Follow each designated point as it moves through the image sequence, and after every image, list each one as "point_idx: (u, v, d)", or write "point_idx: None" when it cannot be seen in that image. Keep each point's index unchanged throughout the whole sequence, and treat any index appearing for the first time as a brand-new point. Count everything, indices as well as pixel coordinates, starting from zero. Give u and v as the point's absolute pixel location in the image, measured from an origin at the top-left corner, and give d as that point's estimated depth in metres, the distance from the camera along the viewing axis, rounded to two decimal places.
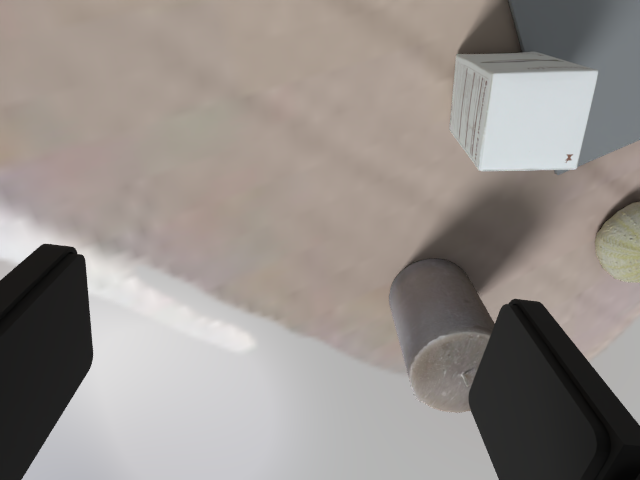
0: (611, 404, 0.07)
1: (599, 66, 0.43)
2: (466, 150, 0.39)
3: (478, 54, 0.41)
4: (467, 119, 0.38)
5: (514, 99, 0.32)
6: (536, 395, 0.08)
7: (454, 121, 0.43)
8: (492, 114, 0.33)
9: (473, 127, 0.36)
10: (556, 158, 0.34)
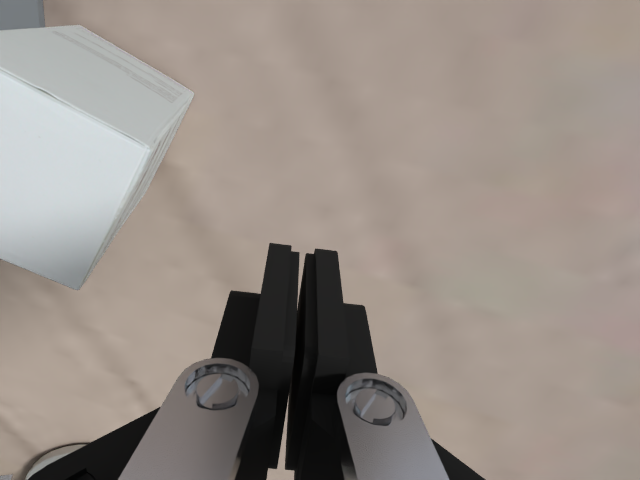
0: (335, 327, 0.08)
1: None
2: (169, 128, 0.21)
3: None
4: (151, 168, 0.22)
5: (50, 241, 0.18)
6: (301, 328, 0.09)
7: (179, 122, 0.26)
8: (95, 235, 0.18)
9: (141, 181, 0.20)
10: None
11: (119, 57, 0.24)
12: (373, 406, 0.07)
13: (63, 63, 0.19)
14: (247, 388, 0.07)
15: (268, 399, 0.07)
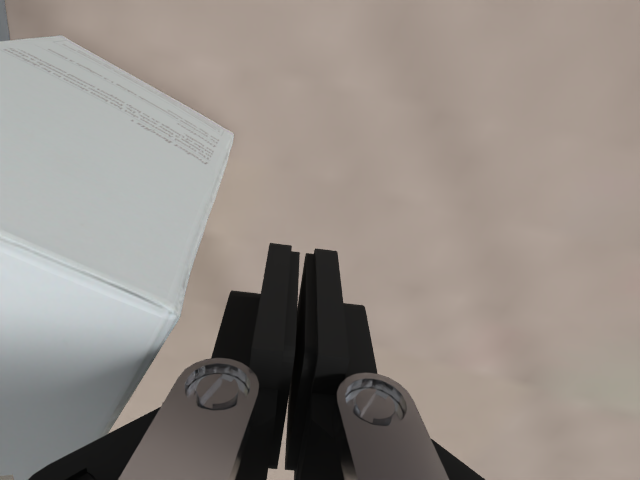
0: (335, 327, 0.08)
1: None
2: (206, 222, 0.12)
3: None
4: None
5: None
6: (301, 328, 0.09)
7: None
8: None
9: None
10: None
11: (121, 87, 0.15)
12: (373, 406, 0.07)
13: (4, 116, 0.10)
14: (247, 388, 0.07)
15: (268, 399, 0.07)
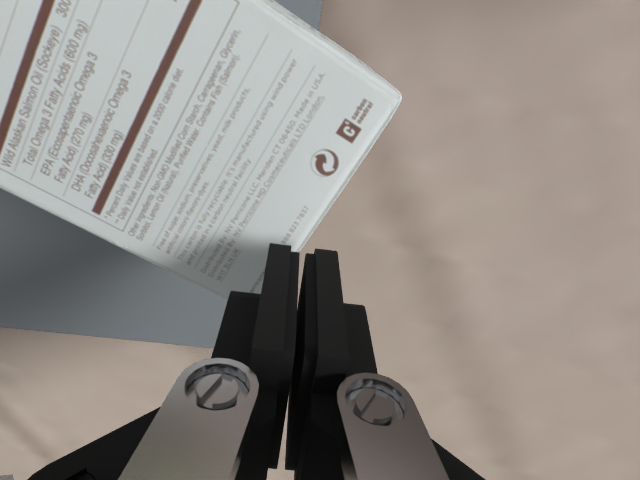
0: (335, 327, 0.08)
1: None
2: None
3: None
4: (50, 20, 0.10)
5: None
6: (301, 328, 0.09)
7: (285, 94, 0.11)
8: None
9: None
10: None
11: None
12: (373, 406, 0.07)
13: None
14: (247, 388, 0.07)
15: (268, 399, 0.07)
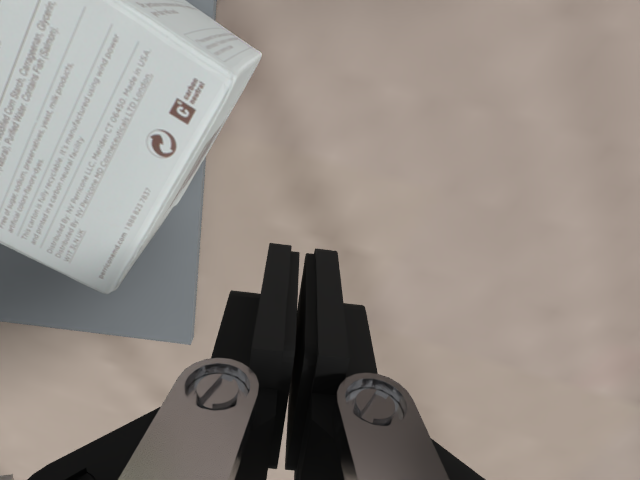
0: (335, 327, 0.08)
1: None
2: None
3: None
4: None
5: None
6: (301, 328, 0.09)
7: (111, 71, 0.10)
8: None
9: None
10: None
11: (179, 4, 0.13)
12: (373, 406, 0.07)
13: None
14: (247, 388, 0.07)
15: (268, 399, 0.07)
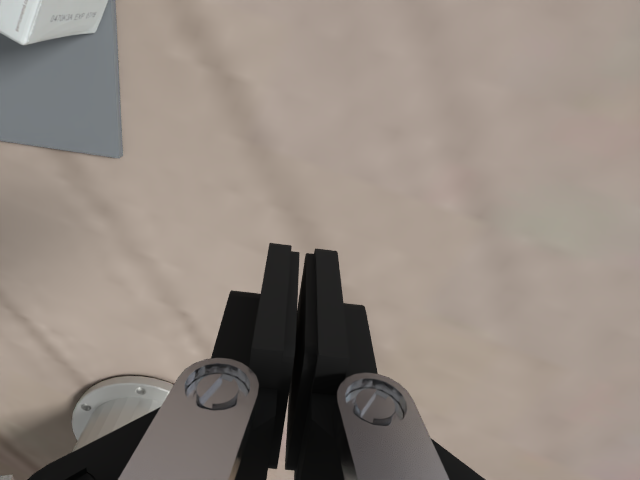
0: (335, 327, 0.08)
1: None
2: None
3: None
4: None
5: None
6: (301, 328, 0.09)
7: None
8: None
9: None
10: None
11: None
12: (373, 406, 0.07)
13: None
14: (247, 388, 0.07)
15: (268, 399, 0.07)
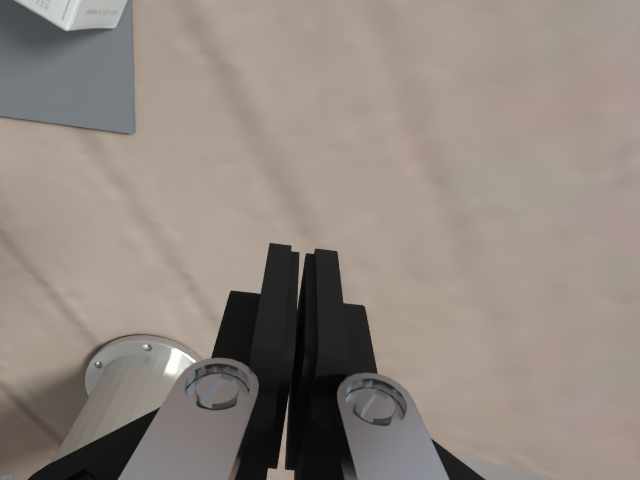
0: (335, 327, 0.08)
1: None
2: None
3: None
4: None
5: None
6: (301, 328, 0.09)
7: None
8: None
9: None
10: None
11: None
12: (373, 406, 0.07)
13: None
14: (247, 388, 0.07)
15: (268, 399, 0.07)
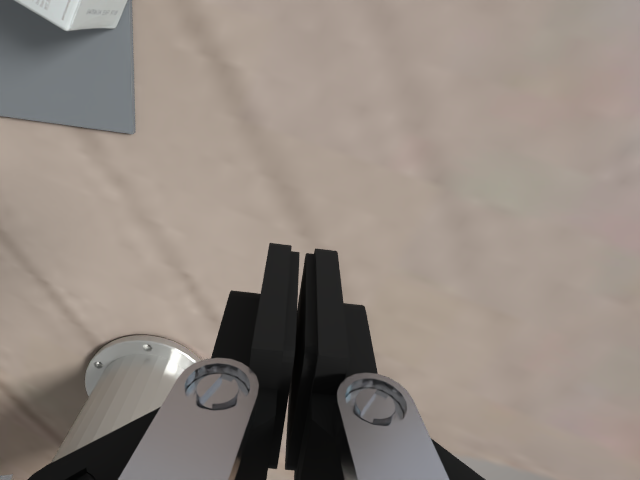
0: (335, 327, 0.08)
1: None
2: None
3: None
4: None
5: None
6: (301, 328, 0.09)
7: None
8: None
9: None
10: None
11: None
12: (373, 406, 0.07)
13: None
14: (247, 388, 0.07)
15: (268, 399, 0.07)
